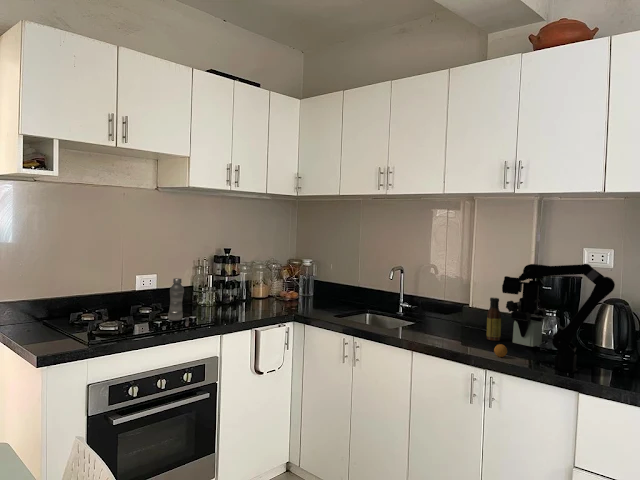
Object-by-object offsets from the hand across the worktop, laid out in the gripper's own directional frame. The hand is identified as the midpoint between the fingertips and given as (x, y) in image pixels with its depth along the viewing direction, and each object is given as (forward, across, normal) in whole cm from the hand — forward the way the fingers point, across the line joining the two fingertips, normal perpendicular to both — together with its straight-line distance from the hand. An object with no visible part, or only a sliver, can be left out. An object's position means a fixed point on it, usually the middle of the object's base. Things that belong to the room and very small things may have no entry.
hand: (527, 335), depth 193 cm
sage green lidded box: (+3, 0, 0) cm, 3 cm away
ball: (+8, 0, -10) cm, 13 cm away
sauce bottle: (+11, -28, -29) cm, 41 cm away
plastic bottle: (+10, +84, -131) cm, 155 cm away
